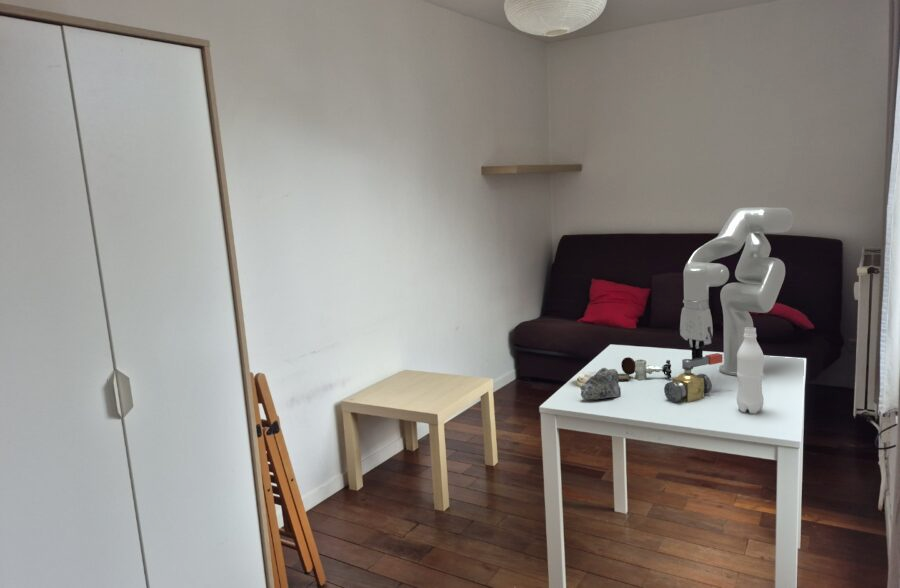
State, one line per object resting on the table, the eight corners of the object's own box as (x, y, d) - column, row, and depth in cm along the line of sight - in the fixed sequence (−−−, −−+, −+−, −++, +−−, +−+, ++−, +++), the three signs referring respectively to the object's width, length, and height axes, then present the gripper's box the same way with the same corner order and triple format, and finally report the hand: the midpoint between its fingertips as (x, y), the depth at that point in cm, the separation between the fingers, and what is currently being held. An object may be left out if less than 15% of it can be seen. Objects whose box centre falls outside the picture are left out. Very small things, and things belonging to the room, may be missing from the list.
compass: (608, 379, 234) (608, 359, 233) (624, 374, 239) (623, 355, 237) (626, 384, 228) (625, 364, 226) (641, 379, 232) (641, 359, 231)
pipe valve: (694, 390, 216) (693, 362, 215) (713, 396, 209) (713, 367, 208) (662, 398, 210) (661, 370, 209) (681, 405, 203) (681, 376, 202)
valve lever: (687, 370, 206) (687, 362, 206) (680, 367, 209) (680, 360, 209) (723, 362, 211) (723, 354, 211) (716, 360, 214) (716, 352, 214)
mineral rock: (580, 403, 212) (579, 373, 211) (580, 392, 223) (579, 363, 221) (621, 402, 210) (620, 372, 208) (620, 392, 220) (619, 363, 218)
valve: (635, 381, 230) (671, 381, 227) (635, 363, 229) (671, 362, 226) (633, 376, 236) (668, 375, 234) (633, 358, 235) (668, 357, 233)
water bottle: (736, 405, 199) (736, 325, 195) (762, 407, 197) (763, 325, 193) (737, 414, 193) (736, 331, 189) (764, 415, 190) (764, 331, 186)
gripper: (670, 303, 218) (671, 356, 221) (706, 309, 205) (707, 366, 208) (687, 299, 222) (688, 352, 225) (723, 305, 208) (723, 361, 211)
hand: (697, 358), depth 216 cm, fingers closed
